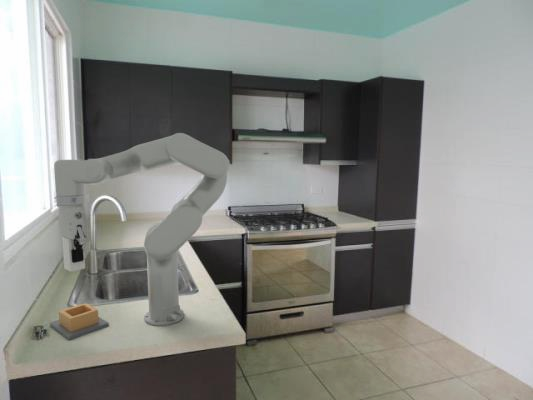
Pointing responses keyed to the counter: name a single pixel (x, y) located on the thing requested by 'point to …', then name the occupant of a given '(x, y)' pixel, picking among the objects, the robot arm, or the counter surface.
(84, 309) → the socket block
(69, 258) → the white plug
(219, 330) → the counter surface
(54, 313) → the counter surface
